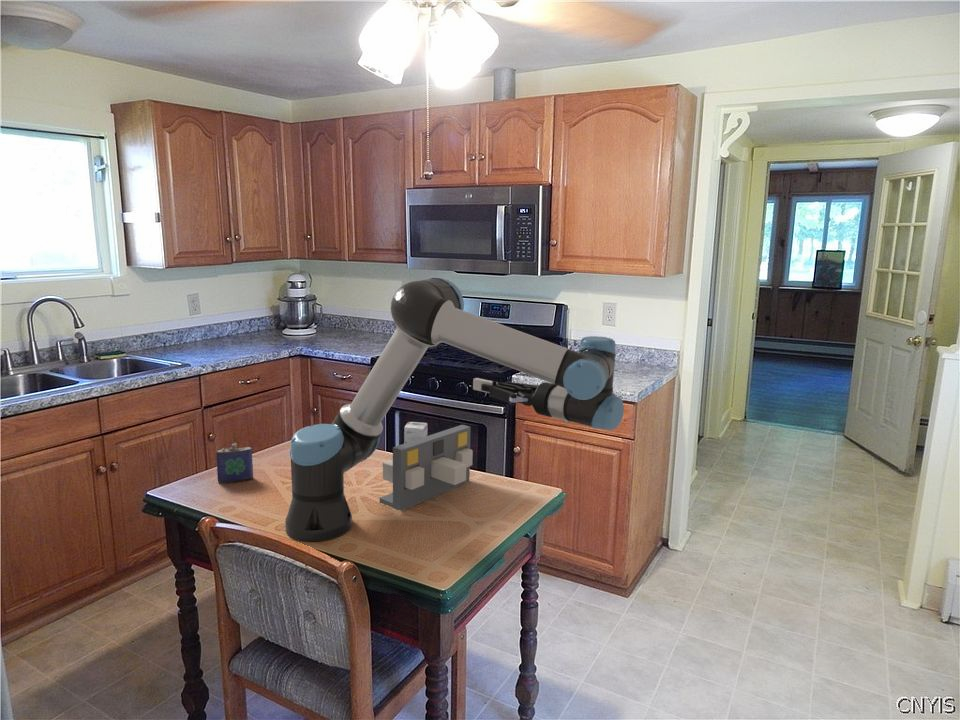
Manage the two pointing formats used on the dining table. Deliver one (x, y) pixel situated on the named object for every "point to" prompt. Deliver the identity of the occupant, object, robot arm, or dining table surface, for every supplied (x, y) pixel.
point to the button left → (405, 475)
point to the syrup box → (414, 431)
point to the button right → (464, 456)
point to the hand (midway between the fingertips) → (475, 383)
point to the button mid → (448, 470)
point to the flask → (234, 464)
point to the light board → (425, 466)
